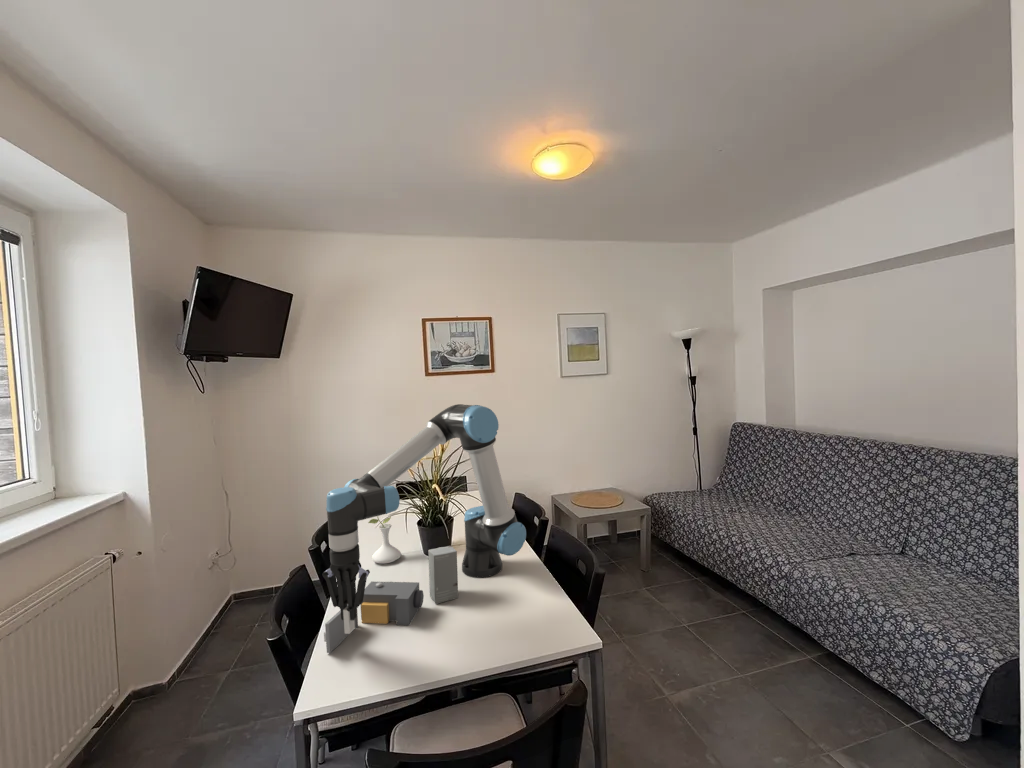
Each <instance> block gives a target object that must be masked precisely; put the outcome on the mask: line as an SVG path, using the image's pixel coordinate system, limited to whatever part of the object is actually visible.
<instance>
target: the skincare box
mask: <svg viewBox="0 0 1024 768" xmlns="http://www.w3.org/2000/svg"><path fill="white" fill-rule="evenodd" d="M457 552H458V551H457V550H456V549H455V548H454V547H453V546H452V545H447V546H441V547H440V546H439V547H437V548H431V549H428V577H429V579H428V580H429V581H428V582H429V583H428V584H429V585H428V586H429V597H430V598H431V599H432V602H433V603H434V604H435V605H438V604H441V603H444V602H448V601H451V600H455V599H458V598H459V585H458V584H459V579H458V578H459V577H458V553H457Z"/></svg>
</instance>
